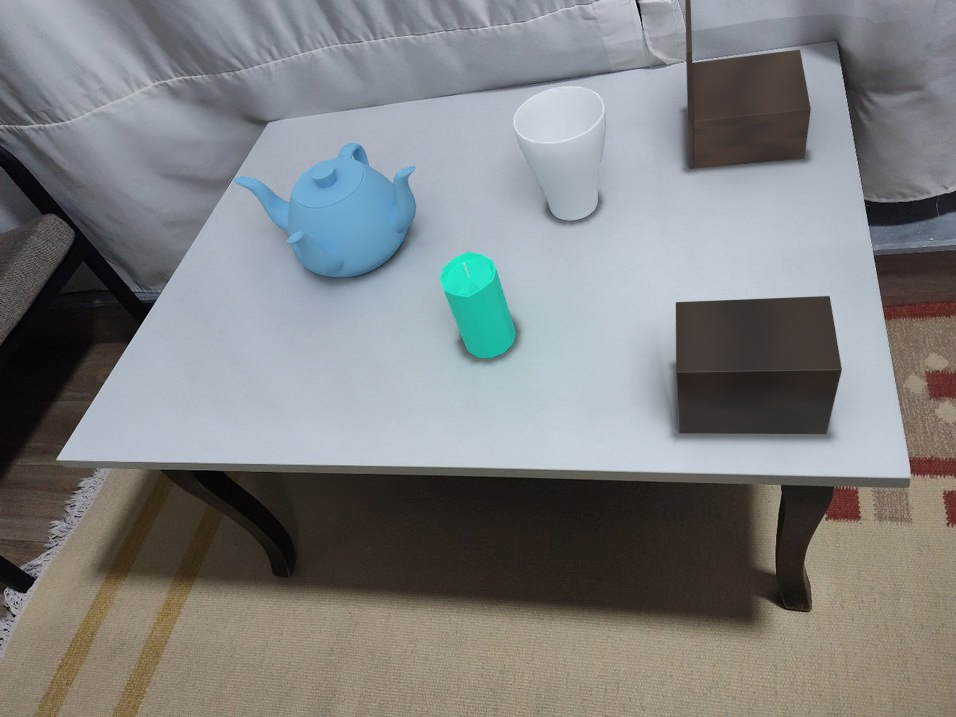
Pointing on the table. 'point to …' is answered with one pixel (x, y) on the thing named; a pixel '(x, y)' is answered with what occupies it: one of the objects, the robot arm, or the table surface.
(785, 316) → the dark brown box
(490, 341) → the candle
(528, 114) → the cup
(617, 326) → the table surface
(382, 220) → the teapot
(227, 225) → the table surface
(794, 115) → the shelf
